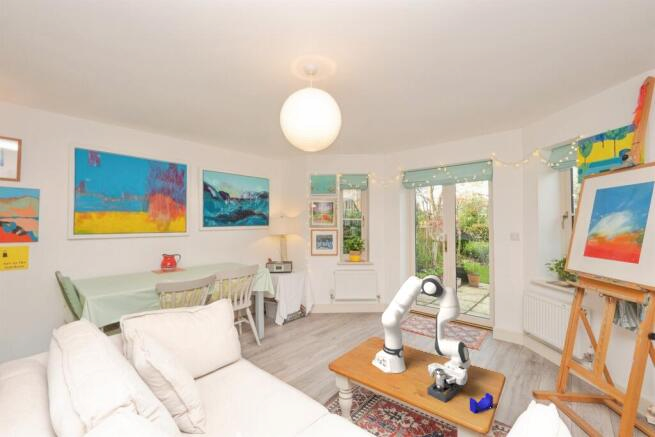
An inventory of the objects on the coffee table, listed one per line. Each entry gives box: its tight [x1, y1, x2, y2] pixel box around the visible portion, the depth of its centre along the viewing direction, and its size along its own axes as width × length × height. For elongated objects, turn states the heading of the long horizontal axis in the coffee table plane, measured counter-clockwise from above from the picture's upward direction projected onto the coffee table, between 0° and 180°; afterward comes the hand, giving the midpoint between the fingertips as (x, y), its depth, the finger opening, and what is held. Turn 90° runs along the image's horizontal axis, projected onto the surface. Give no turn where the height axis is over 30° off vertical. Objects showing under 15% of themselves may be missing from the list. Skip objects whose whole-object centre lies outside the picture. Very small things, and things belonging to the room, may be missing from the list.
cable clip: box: [469, 392, 494, 415], centre depth 145 cm, size 12×4×6 cm, turn 110°
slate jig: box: [426, 379, 463, 403], centre depth 160 cm, size 10×19×4 cm, turn 130°
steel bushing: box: [435, 368, 445, 393], centre depth 157 cm, size 5×5×13 cm
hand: (439, 378), depth 156 cm, fingers open, 8 cm apart
